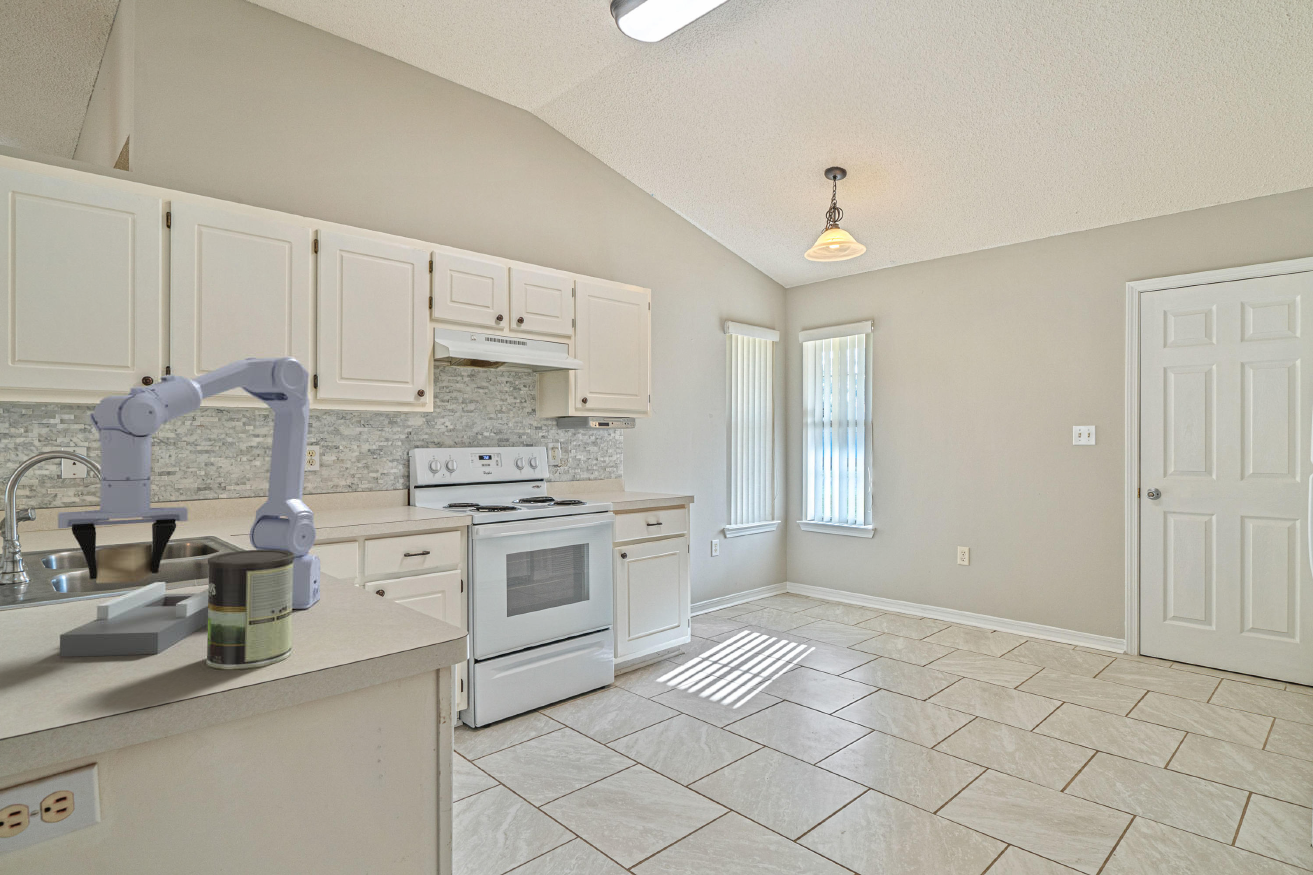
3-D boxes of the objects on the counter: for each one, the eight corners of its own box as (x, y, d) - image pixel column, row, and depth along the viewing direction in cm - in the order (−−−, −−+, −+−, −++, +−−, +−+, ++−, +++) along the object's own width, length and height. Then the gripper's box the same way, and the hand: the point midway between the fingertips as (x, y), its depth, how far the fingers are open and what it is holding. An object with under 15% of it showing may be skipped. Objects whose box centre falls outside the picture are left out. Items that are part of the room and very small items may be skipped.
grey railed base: (232, 609, 120) (232, 581, 120) (157, 653, 96) (158, 617, 96) (155, 611, 118) (155, 582, 118) (59, 657, 94) (60, 620, 94)
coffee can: (198, 674, 89) (200, 564, 88) (214, 650, 98) (215, 551, 98) (289, 665, 93) (291, 560, 93) (295, 643, 102) (297, 547, 102)
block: (151, 575, 101) (151, 544, 101) (133, 582, 96) (134, 549, 96) (115, 576, 100) (116, 544, 100) (96, 583, 95) (96, 549, 95)
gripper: (183, 476, 106) (182, 564, 106) (58, 479, 96) (56, 576, 96) (190, 479, 101) (188, 572, 101) (58, 482, 91) (57, 585, 91)
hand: (124, 575), depth 98 cm, fingers closed on block, 6 cm apart
